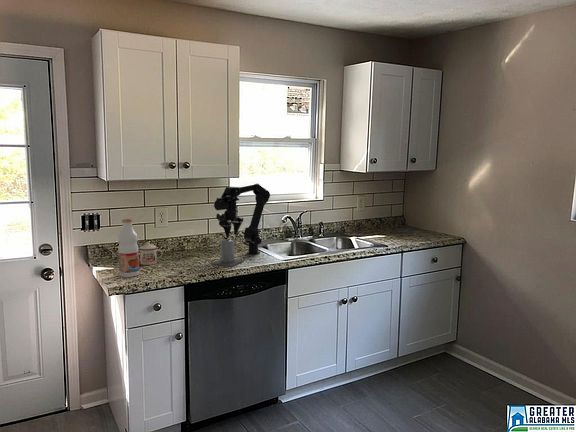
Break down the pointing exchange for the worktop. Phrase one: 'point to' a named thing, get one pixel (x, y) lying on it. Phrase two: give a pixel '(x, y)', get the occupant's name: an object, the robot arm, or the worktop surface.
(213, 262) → the rubber mat
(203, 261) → the worktop surface
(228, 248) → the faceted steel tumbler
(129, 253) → the fruit juice
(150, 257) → the teacup with lid
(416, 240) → the worktop surface
